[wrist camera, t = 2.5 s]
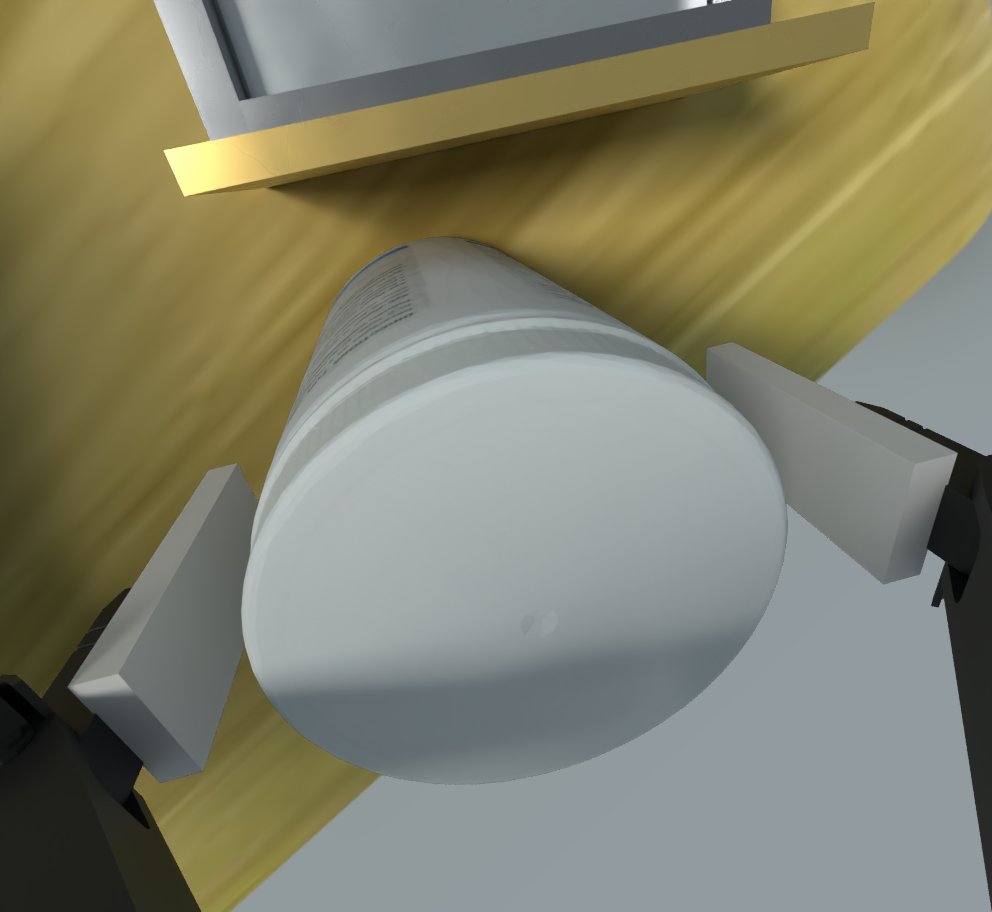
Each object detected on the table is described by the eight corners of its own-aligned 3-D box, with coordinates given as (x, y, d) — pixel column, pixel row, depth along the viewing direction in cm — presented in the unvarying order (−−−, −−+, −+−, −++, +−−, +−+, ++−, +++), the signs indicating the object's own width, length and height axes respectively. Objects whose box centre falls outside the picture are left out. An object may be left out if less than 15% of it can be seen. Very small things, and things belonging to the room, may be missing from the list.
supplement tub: (361, 478, 23) (327, 847, 10) (288, 258, 18) (61, 444, 6) (567, 432, 24) (769, 722, 11) (547, 211, 19) (859, 280, 6)
